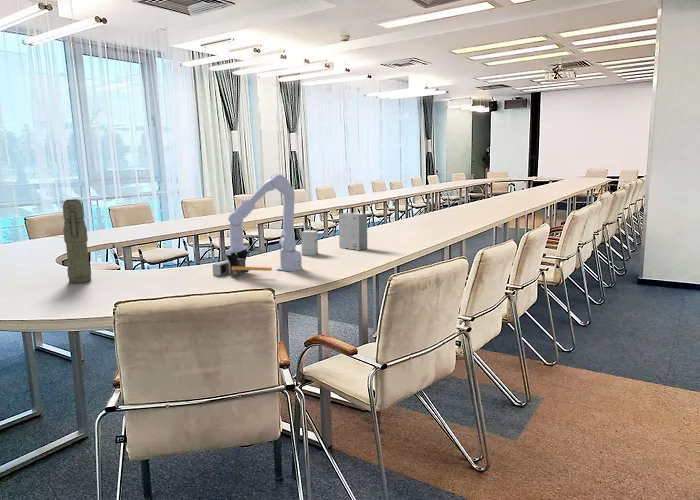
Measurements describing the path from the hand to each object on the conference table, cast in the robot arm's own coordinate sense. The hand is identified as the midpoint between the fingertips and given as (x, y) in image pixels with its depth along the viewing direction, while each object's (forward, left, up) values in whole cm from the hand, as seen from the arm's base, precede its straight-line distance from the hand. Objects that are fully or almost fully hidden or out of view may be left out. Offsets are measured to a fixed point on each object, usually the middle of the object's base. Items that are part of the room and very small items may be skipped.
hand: (238, 268), depth 239 cm
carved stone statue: (+54, +38, -2) cm, 66 cm away
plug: (-1, 0, -2) cm, 2 cm away
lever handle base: (-4, +8, -2) cm, 9 cm away
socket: (+6, 0, -2) cm, 6 cm away
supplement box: (-10, -53, -2) cm, 54 cm away
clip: (-11, +6, +1) cm, 12 cm away
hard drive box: (-25, -78, -2) cm, 82 cm away
